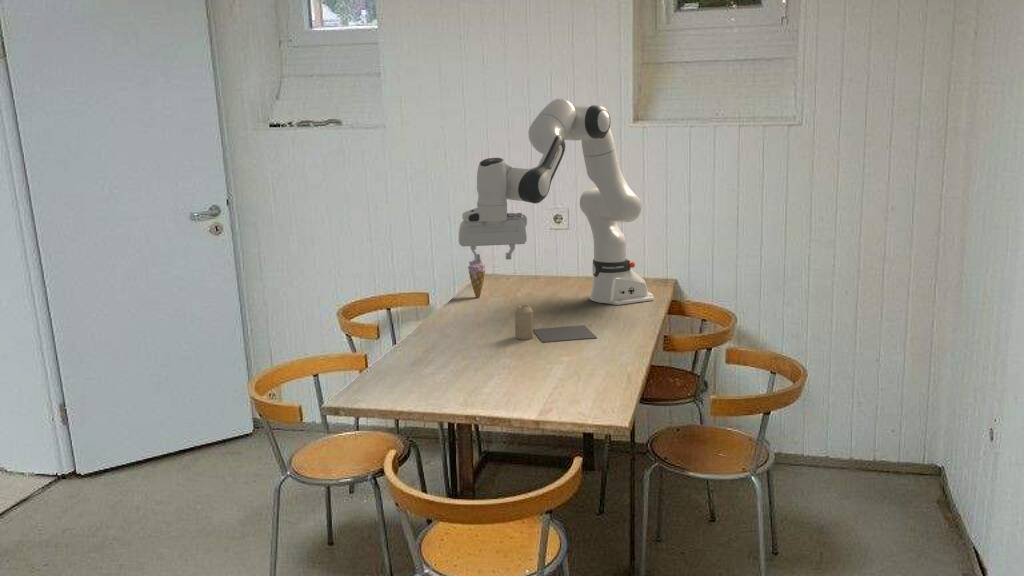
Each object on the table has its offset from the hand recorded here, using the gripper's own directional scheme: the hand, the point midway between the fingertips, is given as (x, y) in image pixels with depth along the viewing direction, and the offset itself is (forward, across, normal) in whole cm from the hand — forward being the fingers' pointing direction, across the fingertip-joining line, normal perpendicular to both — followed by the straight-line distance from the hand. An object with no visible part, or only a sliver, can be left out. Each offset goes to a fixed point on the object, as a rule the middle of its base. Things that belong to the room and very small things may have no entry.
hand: (492, 259), depth 271 cm
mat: (+24, -22, 0) cm, 33 cm away
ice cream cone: (+24, -2, -52) cm, 58 cm away
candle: (+25, -9, 0) cm, 26 cm away
